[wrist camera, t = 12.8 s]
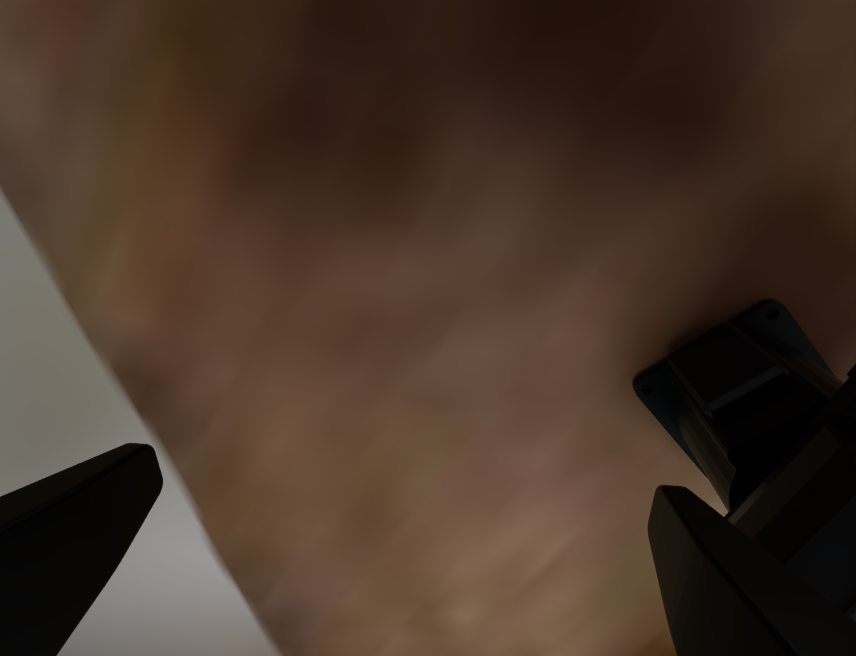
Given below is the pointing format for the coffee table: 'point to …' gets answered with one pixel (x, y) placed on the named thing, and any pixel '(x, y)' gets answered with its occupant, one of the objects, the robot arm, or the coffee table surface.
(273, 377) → the coffee table surface
